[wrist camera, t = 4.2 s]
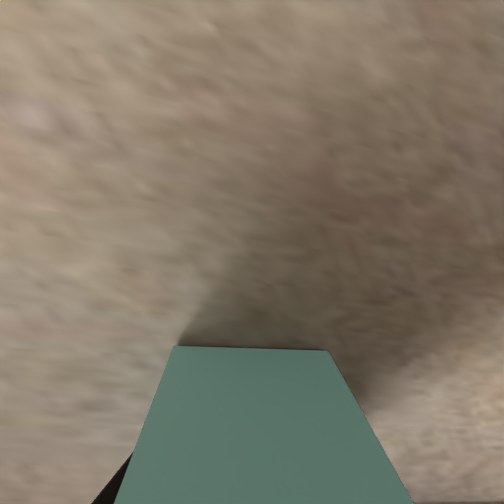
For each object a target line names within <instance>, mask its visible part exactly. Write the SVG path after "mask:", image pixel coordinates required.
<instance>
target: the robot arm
mask: <svg viewBox="0 0 504 504" xmlns="http://www.w3.org/2000/svg"><path fill="white" fill-rule="evenodd" d="M132 455H133V453H132V454H131V455H130V457H129V458H128V459H127V460H126V462H125V463H124V464H123V465H122V466H121V468H120V469H119V470H118V471H117V473H116V474H115V475H114V476H113V478H112V479H111V480H110V481H109V483H108V484H107V485H106V486H105V488H104V489H103V490H102V491H101V492H100V494H99V495H98V496H97V497H96V499H95V500H94V501H93V502H92V504H114V502H115V499H116V497H117V494H118V491H119V489H120V486H121V484H122V481H123V478H124V476H125V473H126V470H127V468H128V465H129V463H130V460H131V457H132Z"/></svg>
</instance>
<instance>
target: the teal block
mask: <svg viewBox="0 0 504 504" xmlns="http://www.w3.org/2000/svg"><path fill="white" fill-rule="evenodd" d="M114 504H414V503H413V501H412V499H411V497H410V496H409V494H408V492H407V490H406V489H405V487H404V485H403V483H402V481H401V480H400V478H399V476H398V474H397V473H396V471H395V469H394V467H393V465H392V464H391V462H390V460H389V458H388V457H387V455H386V453H385V451H384V449H383V448H382V446H381V444H380V442H379V441H378V439H377V437H376V435H375V433H374V432H373V430H372V428H371V426H370V425H369V423H368V421H367V419H366V417H365V416H364V414H363V412H362V410H361V409H360V407H359V405H358V403H357V401H356V400H355V398H354V396H353V394H352V393H351V391H350V389H349V387H348V385H347V384H346V382H345V380H344V378H343V377H342V375H341V373H340V371H339V370H338V368H337V366H336V364H335V362H334V361H333V359H332V357H331V355H330V354H329V352H328V351H322V350H291V349H259V348H227V347H195V346H174V347H173V350H172V352H171V355H170V357H169V360H168V363H167V365H166V368H165V371H164V373H163V376H162V378H161V381H160V384H159V386H158V389H157V392H156V394H155V397H154V399H153V402H152V405H151V407H150V410H149V413H148V415H147V418H146V421H145V423H144V426H143V428H142V431H141V434H140V436H139V439H138V442H137V444H136V447H135V449H134V452H133V455H132V457H131V460H130V463H129V465H128V468H127V470H126V473H125V476H124V478H123V481H122V484H121V486H120V489H119V491H118V494H117V497H116V499H115V502H114Z"/></svg>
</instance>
